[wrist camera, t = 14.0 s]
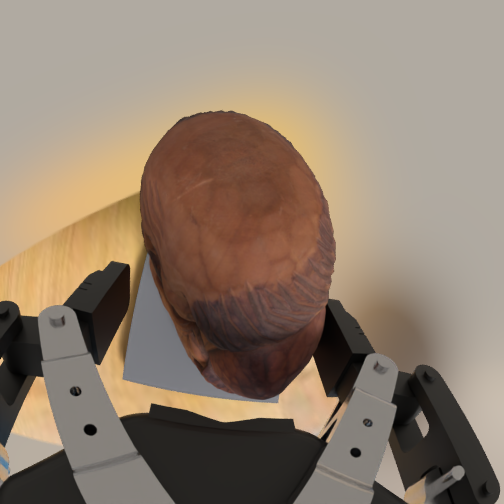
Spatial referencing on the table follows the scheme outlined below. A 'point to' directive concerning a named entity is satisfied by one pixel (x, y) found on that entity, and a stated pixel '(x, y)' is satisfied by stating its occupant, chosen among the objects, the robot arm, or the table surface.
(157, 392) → the table surface
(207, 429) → the robot arm
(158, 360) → the base
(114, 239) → the table surface
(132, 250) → the table surface
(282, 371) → the wooden figurine
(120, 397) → the table surface
